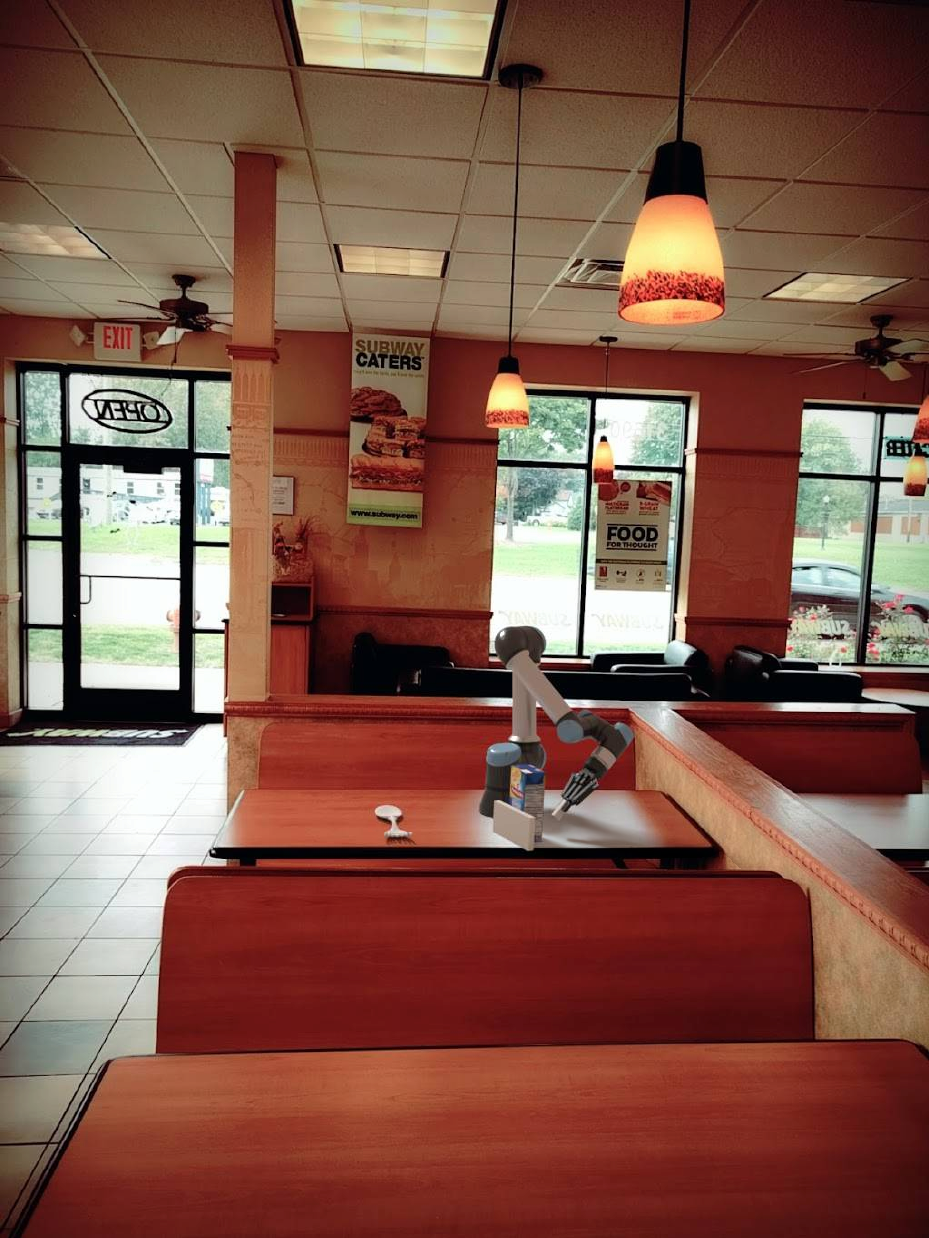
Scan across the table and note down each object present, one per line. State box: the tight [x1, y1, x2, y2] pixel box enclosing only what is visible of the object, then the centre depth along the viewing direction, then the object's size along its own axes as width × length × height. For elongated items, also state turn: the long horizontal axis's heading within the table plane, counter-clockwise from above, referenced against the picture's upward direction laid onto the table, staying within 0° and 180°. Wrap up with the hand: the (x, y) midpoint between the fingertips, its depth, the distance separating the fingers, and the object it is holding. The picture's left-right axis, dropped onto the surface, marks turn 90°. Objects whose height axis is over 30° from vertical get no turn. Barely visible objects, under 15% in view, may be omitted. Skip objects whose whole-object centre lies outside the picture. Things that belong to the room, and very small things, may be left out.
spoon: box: [374, 804, 413, 838], centre depth 269 cm, size 9×32×4 cm, turn 12°
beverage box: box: [509, 764, 547, 843], centre depth 265 cm, size 7×11×22 cm, turn 21°
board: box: [492, 800, 535, 852], centre depth 261 cm, size 20×2×10 cm, turn 30°
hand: (554, 817), depth 269 cm, fingers closed
